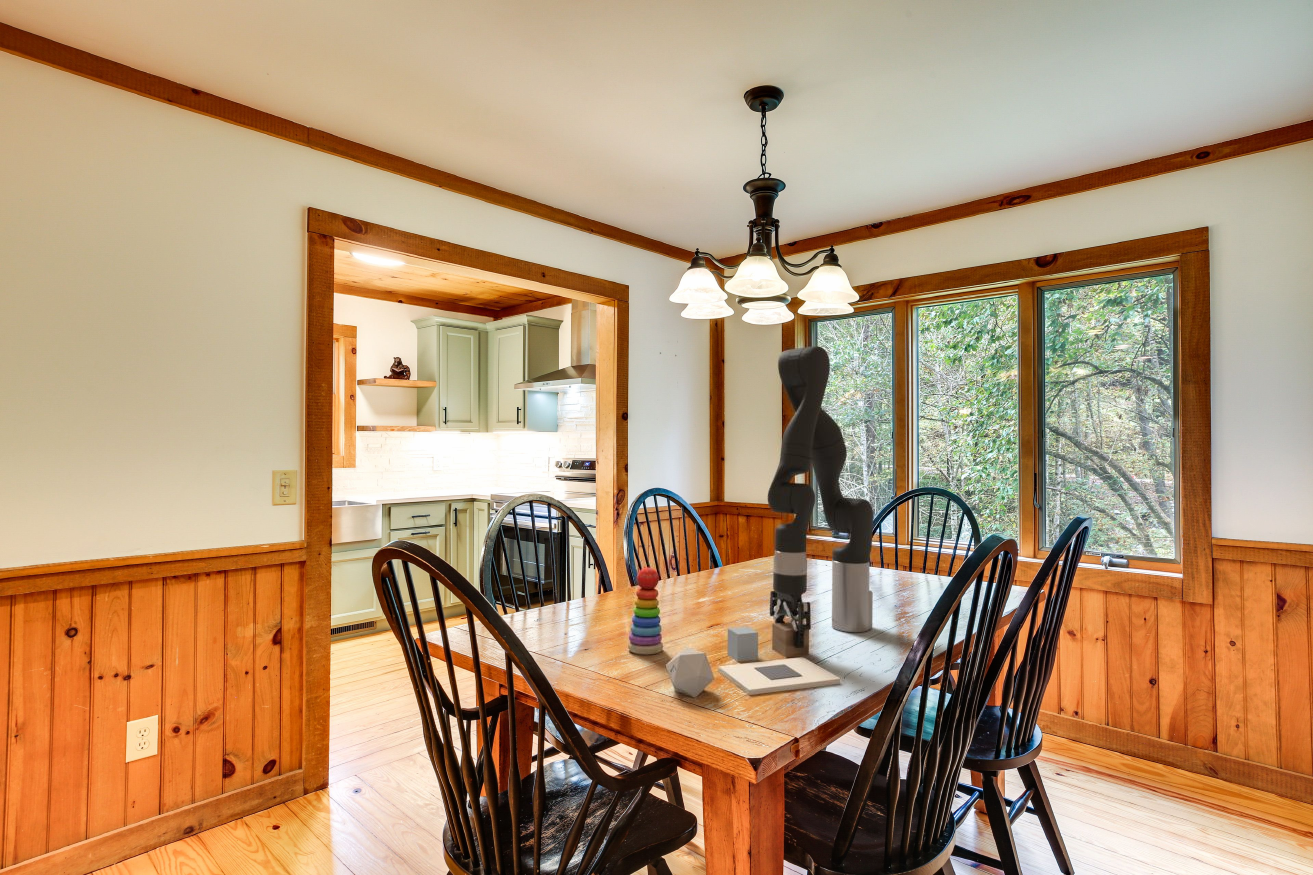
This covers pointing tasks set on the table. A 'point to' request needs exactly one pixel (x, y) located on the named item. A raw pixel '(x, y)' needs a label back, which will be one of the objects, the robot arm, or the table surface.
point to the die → (690, 672)
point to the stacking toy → (646, 616)
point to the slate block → (742, 644)
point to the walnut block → (788, 640)
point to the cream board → (777, 675)
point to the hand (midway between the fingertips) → (788, 642)
